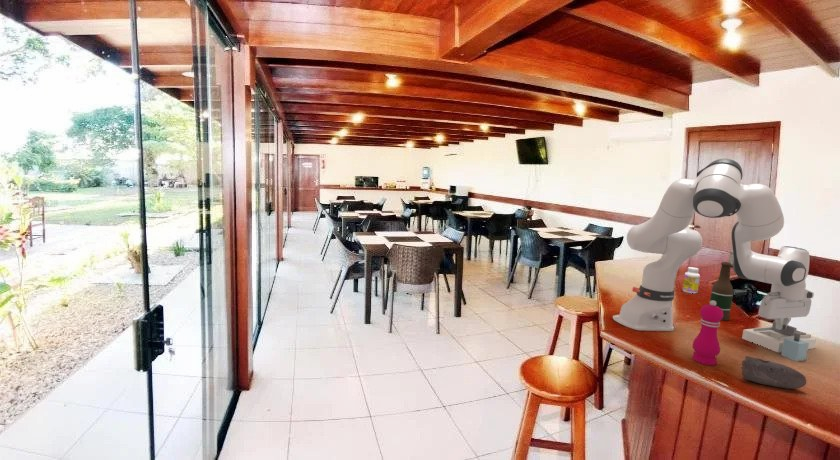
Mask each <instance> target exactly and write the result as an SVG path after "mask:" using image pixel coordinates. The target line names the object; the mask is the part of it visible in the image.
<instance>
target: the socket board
mask: <svg viewBox="0 0 840 460" xmlns="http://www.w3.org/2000/svg"><path fill="white" fill-rule="evenodd" d="M741 336H742V337H741V339H742V340H745V341H748V342H750V343H752V342H753V343H752V344H755V345H757V344H758V345H757V346H760V345H761V346H760V347H762V346H764V347H763V348H765V347H766V348H765V349H767V348H768V350H770V349H771V351H772V352H775V353H782V348H783V343H784V338H794V336H789V335H786V334H783V333H780V332H777V331H774V330H772V326H763V327H761V326H760V327H754V328H747V329H743V331H742V335H741ZM811 336H812V334H810V333H806V334H805V335H800V340H802V341H805V342H808V343H809V345H808V350H813V349H815V346H816V342H817V341H816V340H817V339H816V338H814V337H811Z"/></svg>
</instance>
